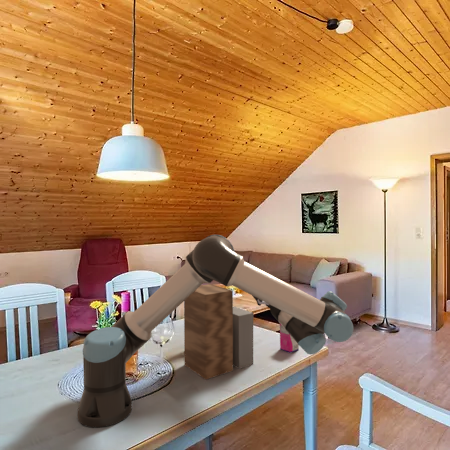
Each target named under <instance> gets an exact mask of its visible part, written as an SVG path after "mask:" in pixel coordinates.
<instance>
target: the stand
mask: <svg viewBox="0 0 450 450" xmlns="http://www.w3.org/2000/svg"><path fill="white" fill-rule="evenodd" d="M233 297H234V293H233V289H229V288H226V287H222V286H219V285H215V284H211V283H207V284H202V285H201V286H200V287H199V288H198V289H196V290H195V291H194V292H193V293H192V294H191V295H190V296H189V297H188V298H187V299H186V300H185V301H184V302H183V306H184V307H183V308H184V309H183V311H184V312H183V313H184V315H183V316H184V317H183V318H184V321H183V323H184V326H183V327H184V331H183V334H184V336H183V337H184V338H183V339H184V366H185V367H187V368H188V369H190V370H191V371H192V372H194V373H195V374H197V376H200V377H201V378H203V379H204V380H209V379H211V378H215V377H218V376H221V375H223V374H228V373H230V372H233V371H234V365H233V307H234V305H233V304H234V302H233V301H234V298H233Z"/></svg>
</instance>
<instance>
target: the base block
mask: <svg viewBox="0 0 450 450" xmlns="http://www.w3.org/2000/svg"><path fill="white" fill-rule="evenodd" d="M251 365H254V312H252V311H249V310H245V309H243V308H241V307H237V306H233V367H235V368H237V369H242V368H245V367H249V366H251Z"/></svg>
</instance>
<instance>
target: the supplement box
mask: <svg viewBox="0 0 450 450" xmlns="http://www.w3.org/2000/svg"><path fill="white" fill-rule="evenodd" d="M279 344H280V345H279V347H280V348H279V349H280V350H282V351H284V352H286V353H289V354H291V353H294V352H297V351H299V347H300V346H299V345H298V343H297V342H296V341H295V340H294V339H293V338H292V336H291V335H290V334H289V333H288V332H287V331H286V329H285V328H284V327H283V326H282V325H281V324H280V323H279Z"/></svg>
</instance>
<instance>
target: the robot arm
mask: <svg viewBox="0 0 450 450" xmlns="http://www.w3.org/2000/svg"><path fill="white" fill-rule="evenodd" d="M213 281H215V282H217V283H219V284H221V285H223V286H225V287H227V288H228V287H231V286H232V287H235V288H237V289H239V290H241V291H242V292H245V293H246V294H249V295H251V296H252V298H253V299H254V301H256V304H257V306H259V307H260V306H261V305H265V307H267V308H269V311H270V313H271V315H272V316H273V317H274V319H276V320H277V321H278V323H279V325H280V324H281V325H282V326H283V327H284V328H285V329H286V331H287V332H288V333H289V334H290V335H291V336H292V338H293V339H294V340H295V341H296V342H297V343H298V345H299V347H300V348H301V349H302V350H303V351H304V352H305V353H306V354H307V355H315V354H317V353H319V352H320V351H321V350H322V349H323V348H324V345H326V342H327V338H326V336H327V337H328V338H329V339H330V341H333V342H335V343H344V342H346V341H348V340H350V339H351V337H352V336H353V333H354V324H353V322H352V319H351V317H350V316H349V315H348V314H347V313H346V312H345V311H346V310H347V308H348V305H347V303H346V302H345V301H344V300H343V299H341V298H340V297H339V296H338V295H337V294H336V293H334V292H333V291H332V290H330V291H327V292H326V293H325V294H324V295H323V296H321V298H316V297H315V296H313V295H312V294H309V293H307V292H305V291H303V290H302V289H299V288H297V287H295V286H293V285H292V284H290V283H287V282H286V281H283V280H281V279H279V278H277V277H275V276H274V275H273V274H270V273H268V272H266V271H264V270H262V269H260V268H258V267H256V266H255V265H253V264H251V263H249V262H246V261H245V260H244V256H243V255H241V254H239V253H237V252H235V249H234V246H233V244H232V242H231V241H230V240H229V239H228V238H226V237H225V236H223V235H220V234H212V235H208V236H207V237H205V238H203V239H201V240H200V241H199V242H198V243H197V244H196V245H195V247H194V248H193V249H192V250H191V251H190V253H188V254H187V255H186V256H185V261H184V264H182V266H181V267H180V268H179V269H178V270H176V271H175V273H174V274H173V275H172V276H170V277H169V279H167V280H166V281H165V282H164V283H163V284H162V285H161V286H160V287H159V288H158V289H157V290H155V292H153V294H151V295H150V296H149V297H148V298H147V299H146V300H145V301H144V302H143V303H142V304H141V305H140V306H139V307H137V309H135V310H134V311H127V312H125V314H124V315H122V316H121V317H120V318H119V319H118V320H117V321H116V322H115V323H114V324H113V325H112V326H108V327H107V326H105V327H102V328H99V329H95V330H93V331H91V332H90V333H89V334H87V335H86V337H85V338H84V341H83V347H82V357H83V358H82V359H83V360H82V362H83V391H82V394H81V397H80V400H79V404H78V407H77V421H78V422H79V423H80V424H81V425H83V426H85V427H88V428H89V427H90V428H103V427H105V428H106V427H109V426H113V425H116V424H118V423H120V422H122V421H124V420H125V419H127V418H128V417H129V416H130V414H131V413H132V411H133V400H132V397H131V394H130V391H129V389H128V385H127V383H126V382H127V380H126V377H127V376H126V370H127V369H126V364H127V363H128V361H130V359H131V358H132V357H133V356H134V354H135V353H137V352H138V351H139V350H140V349H141V348H142V347H143V346H144V345H145V344H146V343H148V342H149V341H150V340H151V338H152V335H153V333H152V332H153V330H155V329H156V328H157V327H158V326H159V325H160V324H161V323H162V322H163V321H164V320H166V318H168V317H169V316H170V315H172V313H173V312H174V311H175V310H176V309H177V308H179V306H181V304H183V303H184V301H185V300H186V299H187V298H188V297H189V296H190V295H191V294H192V293H193V292H194V291H195V290H196V289H198V288H199V287H200V286H201V285H204V284H211V283H212V282H213Z"/></svg>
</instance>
